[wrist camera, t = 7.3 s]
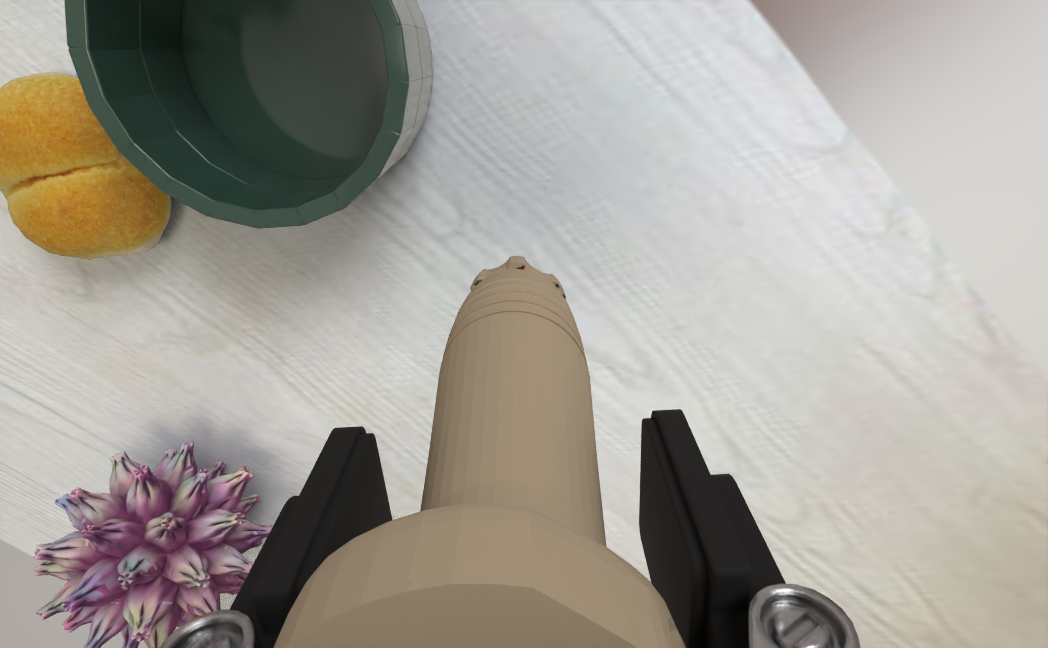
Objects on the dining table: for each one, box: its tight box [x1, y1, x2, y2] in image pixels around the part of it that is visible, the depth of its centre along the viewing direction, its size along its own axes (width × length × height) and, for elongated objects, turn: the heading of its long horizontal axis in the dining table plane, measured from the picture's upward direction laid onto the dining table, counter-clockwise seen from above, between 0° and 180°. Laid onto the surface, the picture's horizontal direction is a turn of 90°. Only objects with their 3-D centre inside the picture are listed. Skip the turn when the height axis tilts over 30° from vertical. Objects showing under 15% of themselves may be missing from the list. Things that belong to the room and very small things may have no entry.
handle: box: [274, 256, 686, 648], centre depth 14 cm, size 5×6×15 cm
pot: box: [65, 0, 433, 228], centre depth 25 cm, size 13×13×7 cm
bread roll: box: [0, 73, 171, 260], centre depth 29 cm, size 8×9×4 cm
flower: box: [34, 441, 272, 648], centre depth 34 cm, size 12×12×12 cm
